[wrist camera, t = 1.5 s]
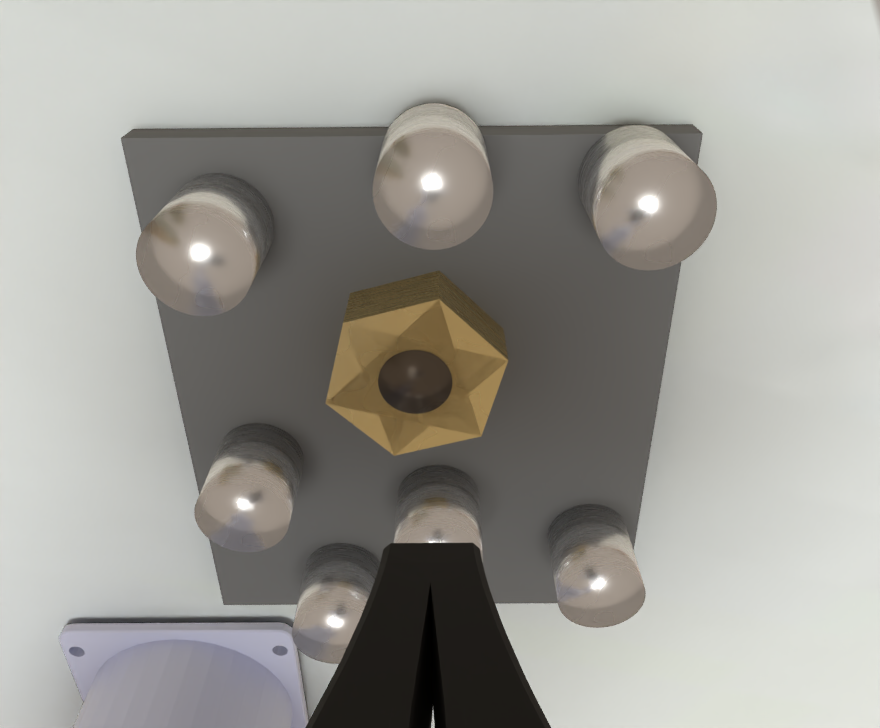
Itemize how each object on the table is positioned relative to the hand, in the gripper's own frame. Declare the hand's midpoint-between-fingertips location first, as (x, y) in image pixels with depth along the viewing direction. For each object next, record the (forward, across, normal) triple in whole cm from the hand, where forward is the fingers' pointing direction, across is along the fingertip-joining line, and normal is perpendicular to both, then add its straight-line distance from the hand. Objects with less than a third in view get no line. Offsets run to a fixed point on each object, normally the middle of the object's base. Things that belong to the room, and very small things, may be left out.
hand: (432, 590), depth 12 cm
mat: (+10, 0, +3) cm, 10 cm away
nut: (+9, 0, +1) cm, 9 cm away
